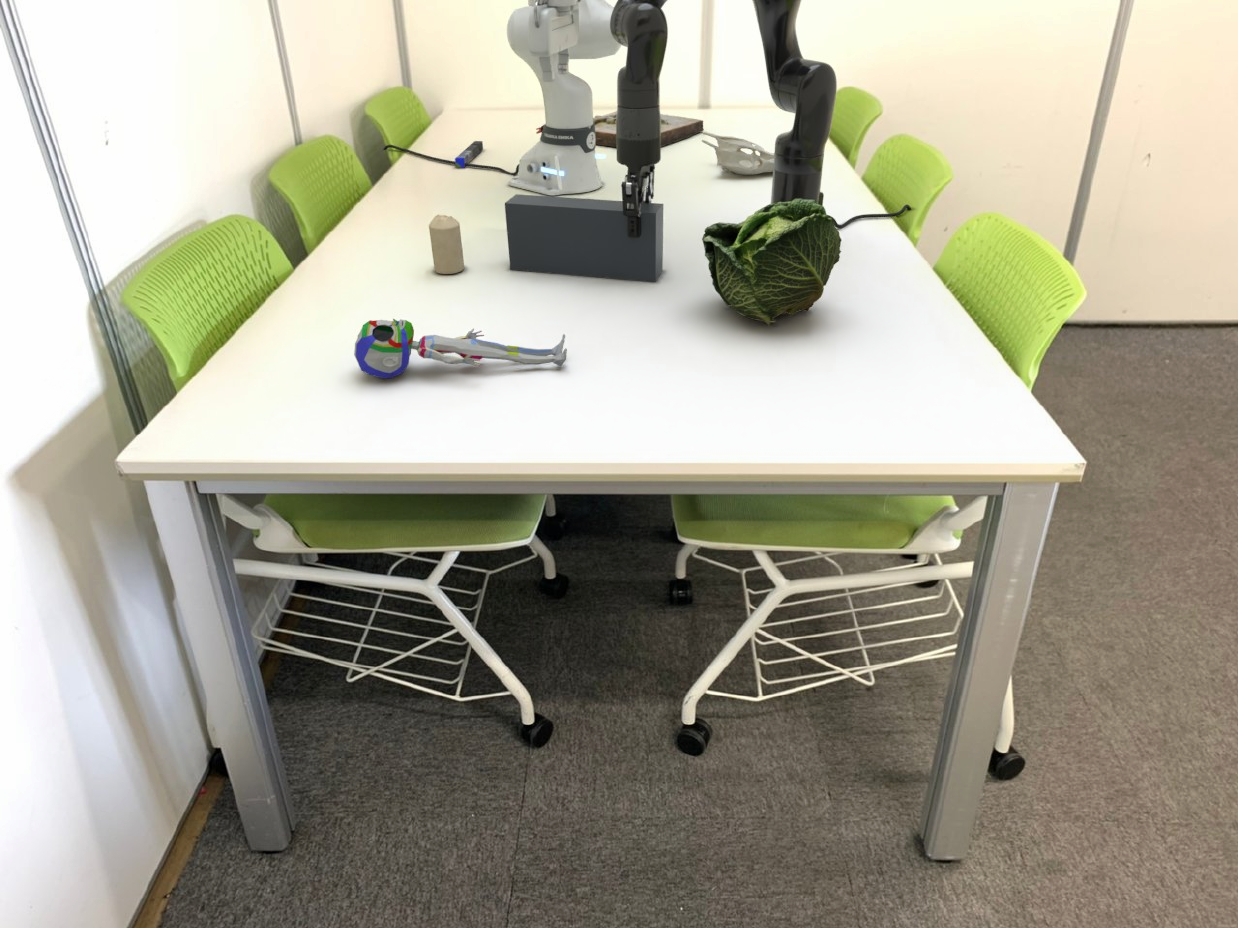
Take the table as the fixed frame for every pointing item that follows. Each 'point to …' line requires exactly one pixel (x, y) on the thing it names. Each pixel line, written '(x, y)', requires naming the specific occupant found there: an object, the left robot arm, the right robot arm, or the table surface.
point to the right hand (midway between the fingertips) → (638, 231)
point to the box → (583, 238)
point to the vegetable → (773, 259)
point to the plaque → (670, 128)
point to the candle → (446, 244)
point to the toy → (435, 349)
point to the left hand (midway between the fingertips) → (556, 78)
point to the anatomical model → (741, 155)
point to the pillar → (468, 154)
